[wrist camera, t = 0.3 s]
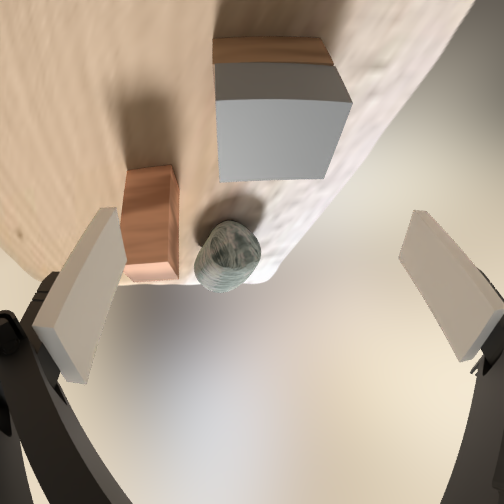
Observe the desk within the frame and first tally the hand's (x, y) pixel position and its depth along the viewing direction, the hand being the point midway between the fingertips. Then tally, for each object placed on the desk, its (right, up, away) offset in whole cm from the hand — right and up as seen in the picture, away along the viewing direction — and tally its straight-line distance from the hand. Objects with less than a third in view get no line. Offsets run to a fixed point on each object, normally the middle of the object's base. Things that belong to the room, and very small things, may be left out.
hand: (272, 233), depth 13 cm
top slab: (+1, +10, +8) cm, 13 cm away
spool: (-5, +2, +36) cm, 37 cm away
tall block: (-12, +7, +21) cm, 25 cm away
